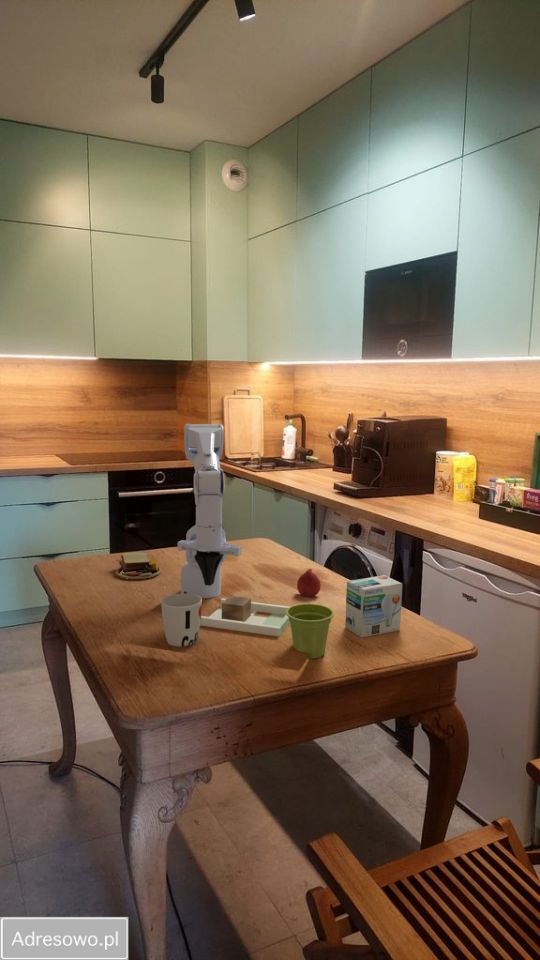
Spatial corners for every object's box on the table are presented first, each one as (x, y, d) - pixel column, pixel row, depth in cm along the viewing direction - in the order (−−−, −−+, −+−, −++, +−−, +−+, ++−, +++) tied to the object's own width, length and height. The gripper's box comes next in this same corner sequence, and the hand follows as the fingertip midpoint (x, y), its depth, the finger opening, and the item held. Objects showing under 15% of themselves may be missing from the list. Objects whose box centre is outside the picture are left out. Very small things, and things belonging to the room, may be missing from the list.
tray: (199, 631, 138) (199, 617, 138) (222, 611, 150) (222, 598, 150) (279, 643, 133) (279, 628, 132) (296, 621, 145) (296, 607, 144)
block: (221, 620, 141) (221, 603, 140) (230, 612, 145) (230, 595, 145) (243, 623, 139) (243, 605, 138) (250, 615, 144) (250, 598, 143)
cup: (184, 659, 125) (184, 610, 123) (153, 649, 129) (152, 601, 127) (210, 644, 131) (210, 598, 130) (179, 636, 136) (179, 590, 134)
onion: (318, 604, 155) (319, 573, 154) (295, 602, 156) (295, 571, 155) (321, 596, 161) (322, 566, 160) (298, 595, 162) (299, 564, 161)
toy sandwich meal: (114, 582, 171) (114, 565, 170) (116, 568, 184) (115, 552, 183) (162, 580, 173) (162, 563, 173) (160, 565, 187) (160, 550, 186)
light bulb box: (361, 638, 136) (363, 589, 134) (343, 627, 142) (345, 580, 140) (401, 630, 141) (403, 582, 139) (382, 619, 146) (384, 574, 145)
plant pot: (298, 666, 122) (299, 623, 121) (277, 647, 131) (278, 606, 129) (341, 658, 126) (342, 616, 124) (318, 640, 134) (319, 600, 133)
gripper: (171, 525, 139) (171, 585, 141) (233, 531, 135) (233, 593, 137) (185, 519, 146) (185, 576, 148) (244, 524, 142) (244, 583, 144)
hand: (209, 584), depth 143 cm, fingers closed
